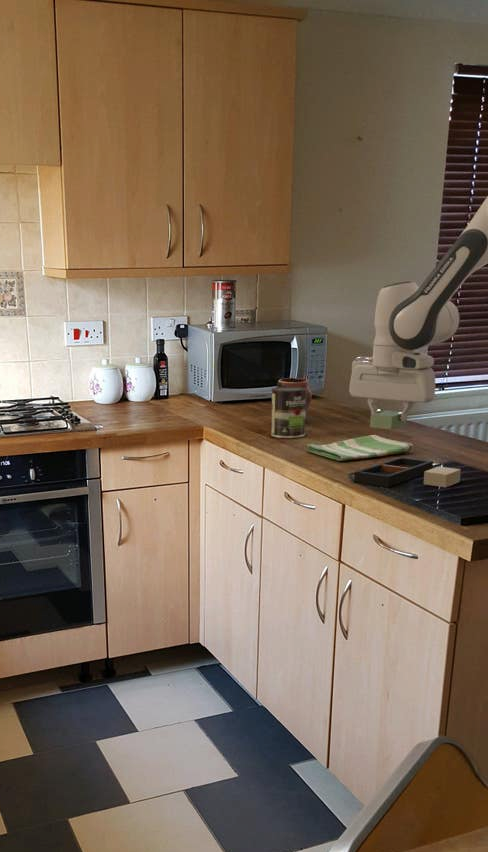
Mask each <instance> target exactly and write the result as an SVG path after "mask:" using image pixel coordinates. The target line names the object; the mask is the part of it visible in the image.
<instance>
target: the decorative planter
mask: <svg viewBox="0 0 488 852" xmlns="http://www.w3.org/2000/svg"><path fill="white" fill-rule="evenodd" d="M276 387H304V388H306V389H307V390H306V410H305V417H306V416H307V414H308V411H309V408H310V405H311V404H312V391H311V389H310V387H309V380H308V378H295V377H287V378H280V379H279V380H278V381H277V383H276Z"/></svg>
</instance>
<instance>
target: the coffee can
mask: <svg viewBox="0 0 488 852" xmlns="http://www.w3.org/2000/svg"><path fill="white" fill-rule="evenodd" d="M306 390H307V389H306V388H304V387H277V386H276V387H272V388H271V434H270V436H271V437H273V438H276V439H300V438H303V437H305V436H306V416H305V410H306Z"/></svg>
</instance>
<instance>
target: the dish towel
mask: <svg viewBox="0 0 488 852" xmlns="http://www.w3.org/2000/svg"><path fill="white" fill-rule="evenodd" d="M306 446H307V447H308V452H309V453H312V454H315V455H318V456H321V457H324V458H328V459H330V460H334V461H339V462H345V461H353V460H361V459H362V460H363V459H371V458H378V457H384V456H391V455H398V454H402V453H406V452H409V451H411V450H412V448H413V447H414V444H412V443H410V442H407V441H401V440H395V439H390V438H386V437H382V436H380V435H376V434H371V435H366V436H365V435H364V436H360V437H359V436H358V437H353V438H349V439H346V440H345V439H344V440H338V441H334V442H332V443H328V444H314V443H307V444H306Z"/></svg>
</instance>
